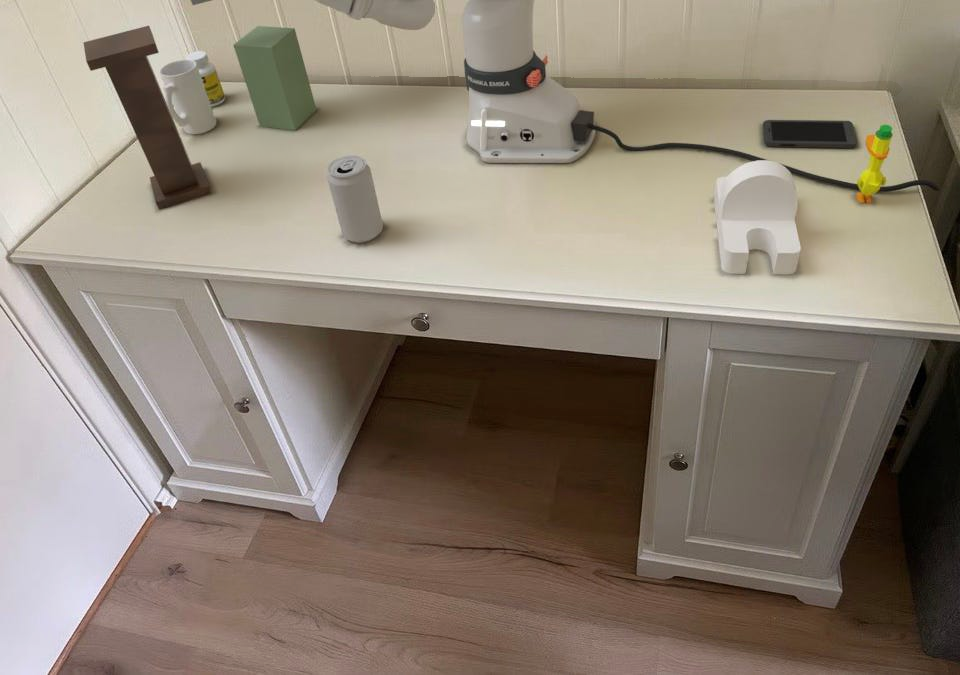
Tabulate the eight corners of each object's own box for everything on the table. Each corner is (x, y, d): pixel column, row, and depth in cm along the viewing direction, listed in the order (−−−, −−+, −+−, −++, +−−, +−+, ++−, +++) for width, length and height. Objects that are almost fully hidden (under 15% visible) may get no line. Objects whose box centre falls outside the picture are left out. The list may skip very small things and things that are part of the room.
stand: (206, 168, 140) (148, 24, 122) (214, 192, 134) (155, 44, 116) (149, 185, 138) (83, 41, 120) (155, 210, 132) (86, 62, 114)
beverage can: (336, 243, 120) (317, 175, 111) (353, 218, 124) (335, 152, 116) (374, 247, 118) (358, 179, 110) (390, 222, 122) (375, 154, 114)
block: (316, 109, 152) (294, 28, 141) (295, 130, 147) (271, 47, 136) (281, 106, 155) (257, 25, 144) (259, 126, 150) (233, 44, 138)
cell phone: (857, 148, 123) (858, 144, 123) (763, 146, 126) (764, 142, 126) (851, 124, 128) (852, 120, 128) (762, 123, 131) (762, 119, 131)
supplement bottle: (201, 110, 157) (183, 64, 150) (197, 100, 161) (180, 53, 154) (228, 103, 158) (211, 56, 151) (223, 92, 162) (207, 46, 155)
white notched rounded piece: (722, 273, 106) (731, 207, 98) (713, 197, 118) (721, 133, 111) (797, 274, 104) (812, 207, 97) (780, 197, 117) (793, 132, 109)
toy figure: (844, 186, 117) (863, 112, 109) (869, 184, 116) (890, 110, 108) (857, 212, 112) (878, 137, 104) (883, 211, 112) (906, 136, 103)
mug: (194, 117, 155) (171, 59, 147) (224, 118, 153) (202, 59, 145) (167, 143, 148) (142, 84, 140) (199, 145, 147) (175, 85, 138)
